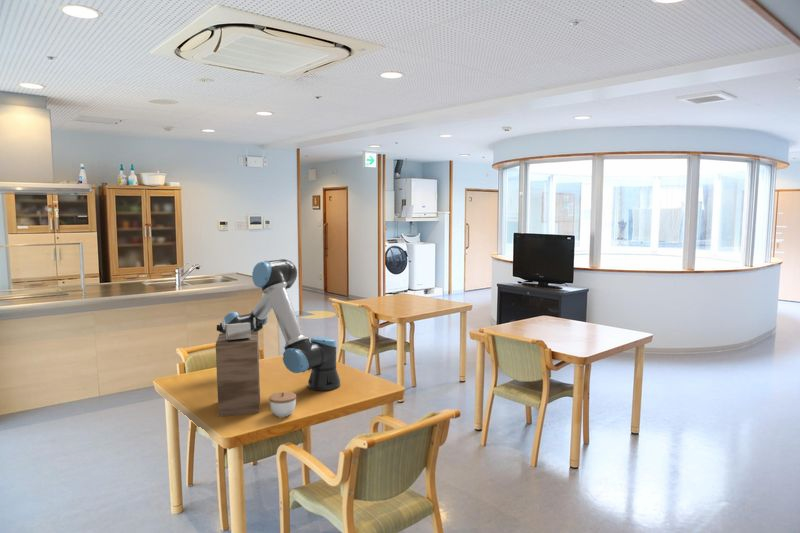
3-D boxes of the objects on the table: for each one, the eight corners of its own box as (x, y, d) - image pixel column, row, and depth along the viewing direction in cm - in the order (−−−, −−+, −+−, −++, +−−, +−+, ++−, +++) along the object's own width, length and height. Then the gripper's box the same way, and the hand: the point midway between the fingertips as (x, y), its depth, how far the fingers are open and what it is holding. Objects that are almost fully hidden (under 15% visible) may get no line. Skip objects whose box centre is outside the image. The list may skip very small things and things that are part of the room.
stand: (259, 412, 225) (256, 341, 221) (218, 416, 221) (215, 343, 218) (260, 397, 243) (257, 331, 240) (222, 400, 239) (219, 333, 236)
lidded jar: (264, 415, 221) (263, 393, 220) (283, 407, 230) (282, 386, 229) (283, 421, 215) (282, 398, 214) (302, 413, 224) (301, 390, 223)
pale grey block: (251, 337, 224) (250, 323, 225) (228, 340, 220) (227, 325, 221) (239, 333, 250) (238, 320, 250) (219, 335, 246) (218, 322, 246)
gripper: (268, 341, 263) (267, 327, 244) (214, 344, 258) (209, 330, 239) (268, 326, 266) (267, 311, 247) (214, 329, 261) (209, 314, 242)
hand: (238, 321), depth 243 cm, fingers open, 13 cm apart
